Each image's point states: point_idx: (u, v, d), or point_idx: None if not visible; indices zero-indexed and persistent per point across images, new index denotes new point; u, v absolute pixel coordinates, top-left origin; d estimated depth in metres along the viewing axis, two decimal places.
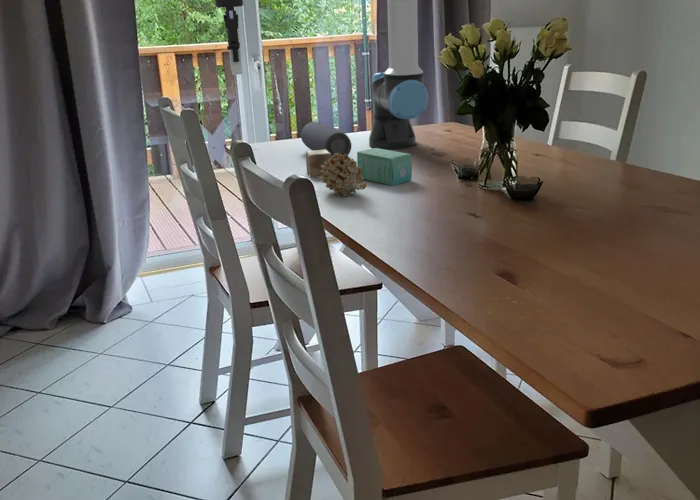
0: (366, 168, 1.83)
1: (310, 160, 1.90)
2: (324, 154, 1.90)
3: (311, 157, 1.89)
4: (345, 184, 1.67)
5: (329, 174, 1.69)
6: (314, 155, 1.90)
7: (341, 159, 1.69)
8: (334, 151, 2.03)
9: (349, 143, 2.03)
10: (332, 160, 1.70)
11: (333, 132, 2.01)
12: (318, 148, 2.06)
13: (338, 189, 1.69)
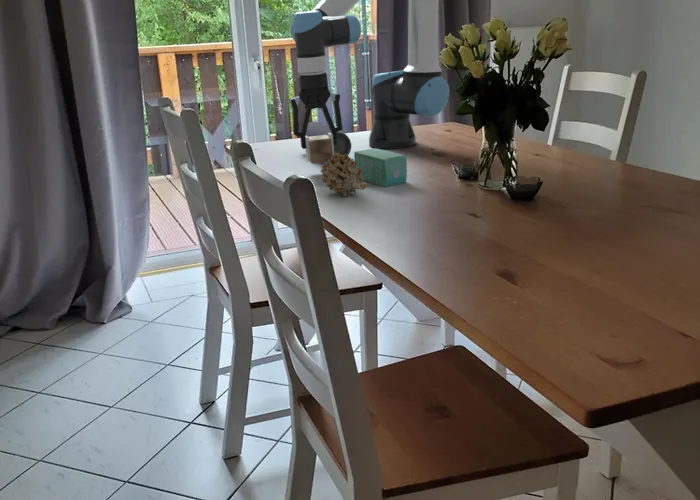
0: (362, 168, 1.83)
1: (311, 146, 1.89)
2: (325, 139, 1.89)
3: (312, 143, 1.88)
4: (345, 184, 1.67)
5: (329, 174, 1.69)
6: (315, 141, 1.89)
7: (341, 159, 1.69)
8: (334, 151, 2.03)
9: (349, 143, 2.03)
10: (332, 160, 1.70)
11: None
12: None
13: (338, 189, 1.69)
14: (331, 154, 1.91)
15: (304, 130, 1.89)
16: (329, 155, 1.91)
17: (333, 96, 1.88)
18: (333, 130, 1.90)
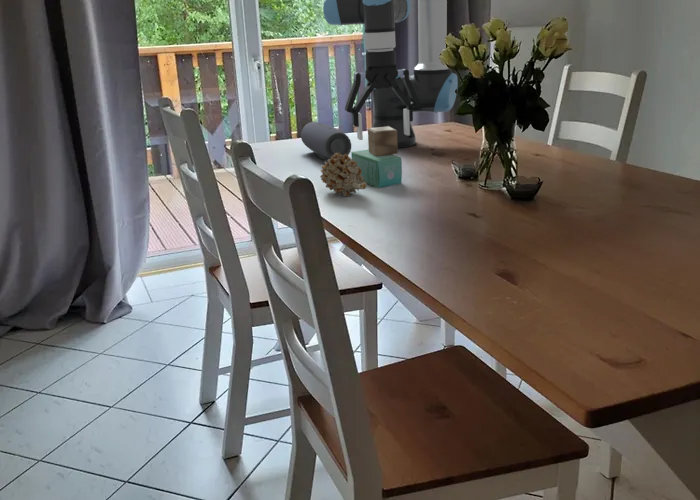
0: None
1: (375, 137, 1.77)
2: (390, 131, 1.77)
3: (376, 134, 1.77)
4: (345, 184, 1.67)
5: (329, 174, 1.69)
6: (379, 132, 1.77)
7: (341, 159, 1.69)
8: (334, 151, 2.03)
9: (349, 143, 2.03)
10: (332, 160, 1.70)
11: (333, 132, 2.01)
12: (318, 148, 2.06)
13: (338, 189, 1.69)
14: (396, 146, 1.79)
15: (359, 107, 1.75)
16: (393, 148, 1.79)
17: (401, 73, 1.76)
18: (410, 106, 1.78)
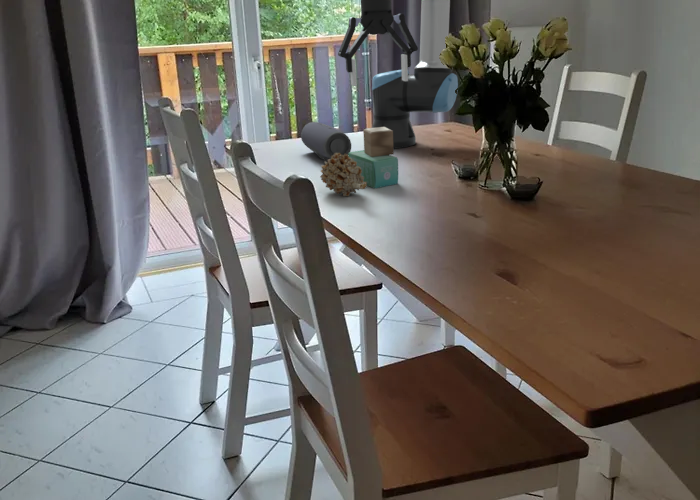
0: None
1: (371, 138, 1.76)
2: (386, 131, 1.77)
3: (372, 134, 1.76)
4: (345, 184, 1.67)
5: (329, 174, 1.69)
6: (375, 132, 1.76)
7: (341, 159, 1.69)
8: (334, 151, 2.03)
9: (349, 143, 2.03)
10: (332, 160, 1.70)
11: (333, 132, 2.01)
12: (318, 148, 2.06)
13: (338, 189, 1.69)
14: (392, 147, 1.79)
15: (352, 52, 1.73)
16: (389, 148, 1.79)
17: (397, 18, 1.74)
18: (407, 51, 1.76)
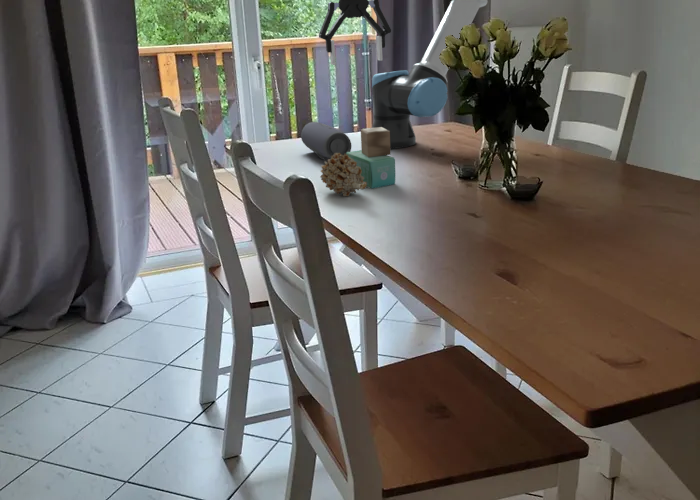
0: None
1: (368, 138, 1.76)
2: (382, 131, 1.77)
3: (369, 135, 1.76)
4: (345, 184, 1.67)
5: (329, 174, 1.69)
6: (372, 132, 1.76)
7: (341, 159, 1.69)
8: (334, 151, 2.03)
9: (349, 143, 2.03)
10: (332, 160, 1.70)
11: (333, 132, 2.01)
12: (318, 148, 2.06)
13: (338, 189, 1.69)
14: (389, 147, 1.78)
15: (332, 34, 1.91)
16: (386, 148, 1.78)
17: (372, 3, 1.92)
18: (382, 32, 1.94)
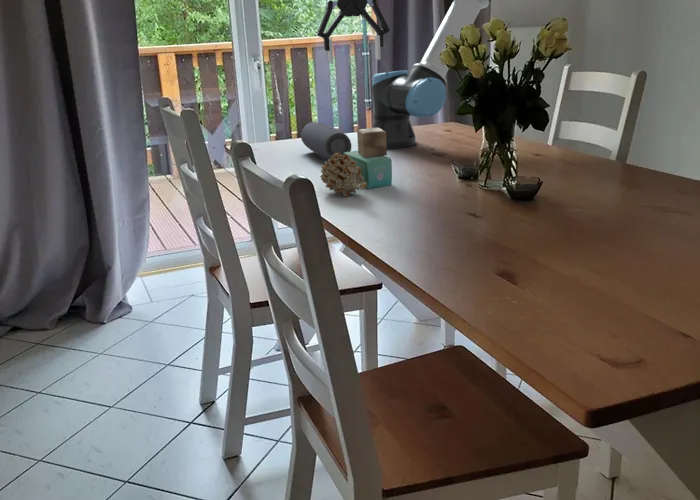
0: None
1: (364, 138, 1.76)
2: (379, 132, 1.77)
3: (365, 135, 1.76)
4: (345, 184, 1.67)
5: (329, 174, 1.69)
6: (368, 133, 1.76)
7: (341, 159, 1.69)
8: (334, 151, 2.03)
9: (349, 143, 2.04)
10: (332, 160, 1.70)
11: (333, 132, 2.01)
12: (318, 148, 2.06)
13: (338, 189, 1.69)
14: (385, 148, 1.78)
15: (330, 32, 1.91)
16: (382, 149, 1.78)
17: (370, 2, 1.92)
18: (380, 32, 1.94)
